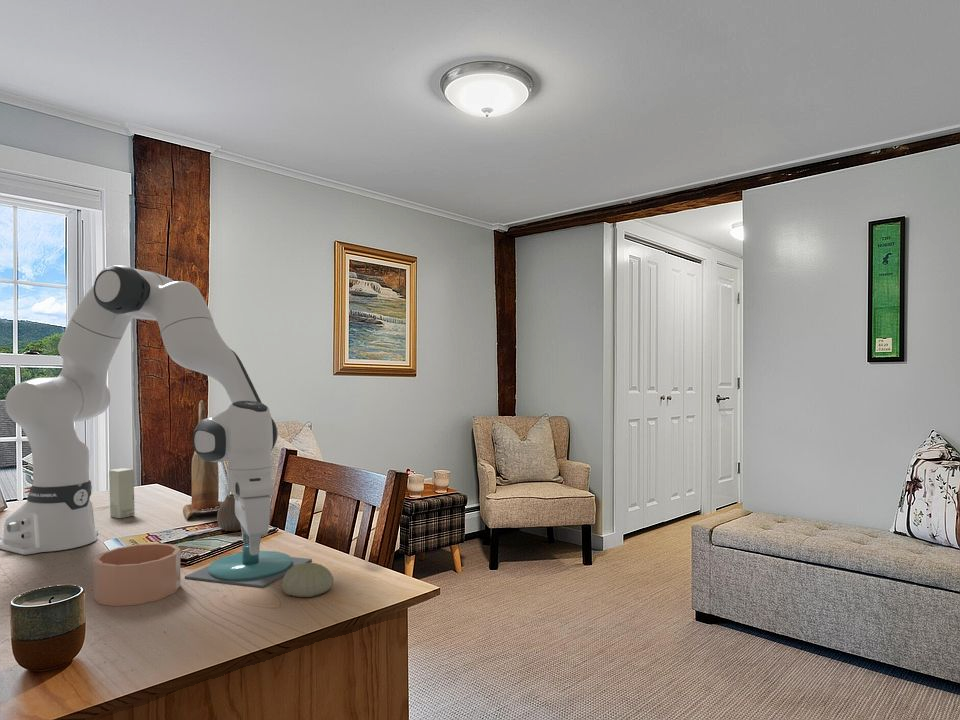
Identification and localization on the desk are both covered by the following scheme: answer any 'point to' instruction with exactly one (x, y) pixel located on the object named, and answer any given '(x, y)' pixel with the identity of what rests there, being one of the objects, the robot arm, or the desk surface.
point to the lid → (249, 565)
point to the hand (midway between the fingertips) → (250, 547)
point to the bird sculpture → (203, 481)
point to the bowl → (136, 574)
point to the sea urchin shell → (307, 580)
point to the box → (121, 493)
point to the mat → (262, 582)
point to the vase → (228, 515)
